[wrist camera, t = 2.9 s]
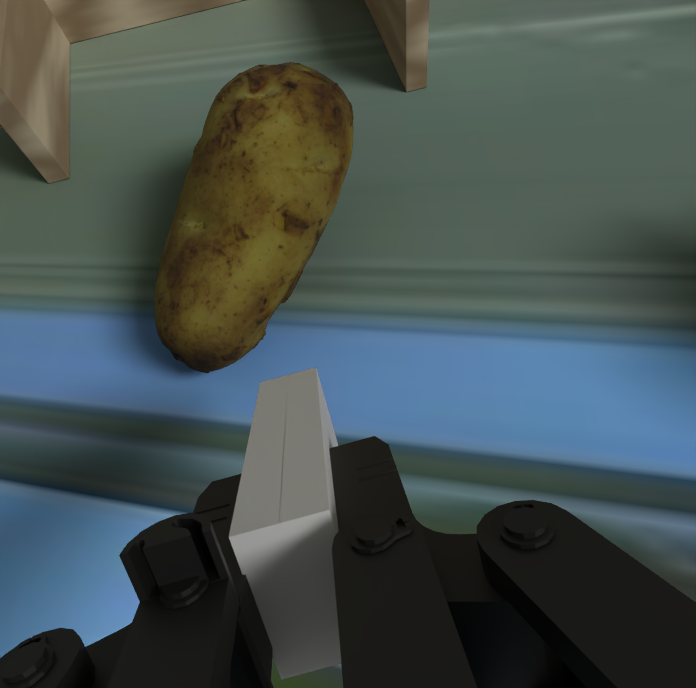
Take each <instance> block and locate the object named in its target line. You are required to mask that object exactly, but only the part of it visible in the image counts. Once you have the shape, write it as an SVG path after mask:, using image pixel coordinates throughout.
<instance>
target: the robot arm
mask: <svg viewBox="0 0 696 688" xmlns="http://www.w3.org/2000/svg"><path fill="white" fill-rule="evenodd" d="M119 556H120V558H121V560H122V562H123V565H124V567H125V569H126V571H127V574H128V576H129V578H130V580H131V583H132V585H133V587H134V589H135V592H136V594H137V596H138V598H139V601H140V603H139V606H138V609H137V611H136V614H135V616H134V619H133V622H132V623H131V624H129V625H128V626H126V627H124V628H122V629H121V630H119V631H117V632H115V633H113V634H111V635H109V636H107V637H105V638H103V639H101V640H99V641H97V642H95V643H93V644H91V645H89V646H87V647H85V646H84V644H83V642H82V640H81V638H80V636H79V635H78V634H77V633H76V632H75V631H74V630H73V629H65V628H58V629H54V630H50V631H46V632H42V633H40V634H38V635H35V636H33V637H32V638H29V639H27V640H25V641H23V642H21V643H20V644H19V645H18V646H16V647H15V648H14V649H12V650H11V651H9V652H8V653H7V654H5V655H4V656H3V657H2V658H1V659H0V688H273V685H272V682H271V668H272V656H273V658H274V661H275V664H276V666H277V669H278V672H279V674H280V677H281V680H282V679H285V678H289V677H293V676H296V675H300V674H304V673H307V672H311V671H314V670H318V669H322V668H325V667H329V666H333V665H336V664H340V663H341V664H342V676H343V687H344V688H696V602H694V601H693V600H691V599H690V598H689V597H687V596H686V595H684V594H683V593H682V592H680V591H679V590H677V589H676V588H675V587H673V586H672V585H670V584H669V583H668V582H666V581H665V580H663V579H662V578H661V577H659V576H658V575H656V574H655V573H654V572H652V571H651V570H649V569H648V568H647V567H645V566H644V565H642V564H641V563H640V562H638V561H637V560H635V559H634V558H633V557H631V556H630V555H628V554H627V553H626V552H624V551H623V550H621V549H620V548H618V547H617V546H616V545H614V544H613V543H611V542H610V541H609V540H607V539H606V538H604V537H603V536H602V535H600V534H599V533H597V532H596V531H595V530H593V529H592V528H590V527H589V526H588V525H586V524H585V523H583V522H582V521H581V520H579V519H578V518H576V517H575V516H574V515H572V514H571V513H569V512H568V511H566V510H564V509H562V508H560V507H558V506H556V505H554V504H552V503H547V502H541V501H536V500H527V501H514V502H510V503H507V504H504V505H500V506H497V507H496V508H494V509H493V510H491V511H490V512H488V513H487V514H485V515H484V517H483V518H482V520H481V521H480V522H479V524H478V525H477V534H444V533H440V532H436V531H433V530H430V529H428V528H426V527H424V526H423V525H421V524H420V523H419V522H418V521H417V520H416V519H415V517H414V515H413V514H412V511H411V508H410V505H409V502H408V499H407V496H406V494H405V491H404V488H403V485H402V482H401V479H400V476H399V474H398V471H397V468H396V465H395V462H394V460H393V457H392V454H391V451H390V448H389V445H388V444H387V443H385V442H383V441H382V440H380V439H379V438H377V437H376V436H373V437H370V438H366V439H362V440H358V441H355V442H351V443H347V444H344V445H340V446H338V443H337V440H336V436H335V433H334V429H333V426H332V422H331V419H330V415H329V412H328V408H327V404H326V401H325V397H324V394H323V390H322V387H321V383H320V380H319V376H318V373H317V369H316V368H312V369H308V370H305V371H301V372H297V373H293V374H290V375H286V376H282V377H278V378H275V379H271V380H267V381H263V382H260V387H259V391H258V396H257V401H256V406H255V411H254V416H253V421H252V426H251V430H250V435H249V440H248V445H247V450H246V455H245V460H244V465H243V470H242V474H239V475H235V476H232V477H228V478H224V479H220V480H217V481H213V482H212V483H211V484H210V485H209V486H208V487H207V488H206V489H205V491H204V492H203V493H202V494H201V495H200V496H199V497H198V500H197V503H196V506H195V509H194V512H193V513H187V514H181V515H175V516H173V517H170V518H167V519H165V520H162V521H159V522H157V523H155V524H154V525H152V526H150V527H148V528H147V529H145V530H143V531H142V532H140V533H139V534H138V535H137V536H136V537H135V538H133V539H132V540H131V541H130V542H129V543H128V544H127V545H126V547H125V548H124V549H123V551H122V552H121V553H120V555H119Z"/></svg>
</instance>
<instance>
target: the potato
mask: <svg viewBox="0 0 696 688" xmlns="http://www.w3.org/2000/svg"><path fill="white" fill-rule="evenodd" d="M352 147H353V110H352V105H351V103H350V102H349V100H348V99H347V97H346V95H345V93H344V92H343V90H342V89H341V88H340V87H339V86H338V84H337V83H335V82H333V81H332V80H330V79H329V78H327V77H326V76H324V75H322V74H321V73H319V72H317V71H316V70H313V69H311V68H309V67H307V66H304V65H302V64H299V63H292V62H290V63H283V64H278V65H258V66H255V67H253V68H250V69H248V70H246V71H244V72H242V73H239V74H238V75H237V76H236V77H234V78H233V79H232V80H231V81H229V82H228V83H227V84H226V85H225V86H224V87H223V88H222V89H221V91H220V92H219V93H218V94H217V96H216V98H215V99H214V101H213V103H212V105H211V108H210V111H209V113H208V116H207V119H206V121H205V125H204V128H203V133H202V136H201V138H200V139H199V141H198V143H197V145H196V146H195V148H194V154H193V157H192V160H191V163H190V165H189V168H188V171H187V174H186V177H185V181H184V184H183V188H182V190H181V194H180V197H179V201H178V205H177V208H176V212H175V215H174V218H173V221H172V224H171V227H170V230H169V234H168V237H167V240H166V243H165V247H164V250H163V254H162V257H161V261H160V265H159V270H158V275H157V281H156V289H155V320H156V327H157V332H158V335H159V338H160V340H161V341H162V343H163V344H164V345H165V346H166V347H167V348H168V349H169V350H170V351H171V352H172V354H173V356H174V357H175V359H176V360H180V361H182V362H184V363H185V364H186V365H187V366H188V367H189V368H192V369H194V370H197V371H201V372H205V373H209V372H210V371H215V370H219V369H221V368H224V367H226V366H229V365H230V364H232V363H234V362H236V361H237V360H239V359H240V358H242V357H243V356H245V355H246V354H247V353H248V352H249V351H250V350H252V349H254V348H255V347H256V346H257V345H258V343H259V342H260V340H262V339H263V337H264V335H266V332H265V329H266V326H267V323H268V321H269V319H270V318H271V316H272V314H273V313H274V311H275V310H276V309H277V307H278V306H279V305H280V303H285V301H286V300H288V298H289V297H290V296H291V294H292V292H293V290H294V288H295V286H296V284H297V282H298V280H299V278H300V276H301V274H302V271H303V268H304V267H305V265H306V263H307V261H308V260H309V258H310V256H311V255H312V253H313V251H314V249H315V247H316V245H317V243H318V241H319V239H320V237H321V235H322V233H323V231H324V229H325V227H326V225H327V223H328V221H329V218H330V216H331V214H332V212H333V210H334V207H335V205H336V202H337V200H338V197H339V194H340V190H341V186H342V184H343V181H344V178H345V175H346V173H347V170H348V166H349V163H350V159H351V154H352Z"/></svg>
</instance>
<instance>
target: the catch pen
mask: <svg viewBox="0 0 696 688" xmlns="http://www.w3.org/2000/svg"><path fill="white" fill-rule="evenodd" d="M239 1H243V0H0V125H1V126H2V127H3V128H4V129H5V131H6V132H7V133H8V134H9V136H10V137H11V138H12V139H13V140H14V142H15V143H16V144H17V145H18V147H19V148H20V149H21V150H22V151H23V153H24V154H25V155H26V156H27V158H28V159H29V160H30V161H31V162H32V164H33V165H34V166H35V167H36V169H37V170H38V171H39V172H40V173H41V175H42V176H43V177H44V178H45V180H46V181H47V182H48V183H52V182H56V181H60V180H64V179H68V178H69V104H70V43H74V42H78V41H82V40H86V39H90V38H94V37H98V36H102V35H106V34H110V33H114V32H118V31H122V30H126V29H130V28H134V27H138V26H142V25H146V24H150V23H154V22H158V21H162V20H166V19H170V18H174V17H178V16H182V15H186V14H190V13H194V12H198V11H203V10H207V9H211V8H215V7H219V6H223V5H227V4H231V3H235V2H239ZM365 2H366V5H367V7H368V9H369V11H370V13H371V16H372V18H373V20H374V22H375V24H376V26H377V29H378V31H379V33H380V35H381V37H382V40H383V42H384V44H385V46H386V48H387V51H388V53H389V55H390V57H391V59H392V61H393V64H394V66H395V68H396V70H397V72H398V75H399V77H400V79H401V81H402V83H403V85H404V88H405V90H406V92H409V91H413V90H416V89H420V88H424V87H426V84H427V54H428V24H429V0H365Z"/></svg>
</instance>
